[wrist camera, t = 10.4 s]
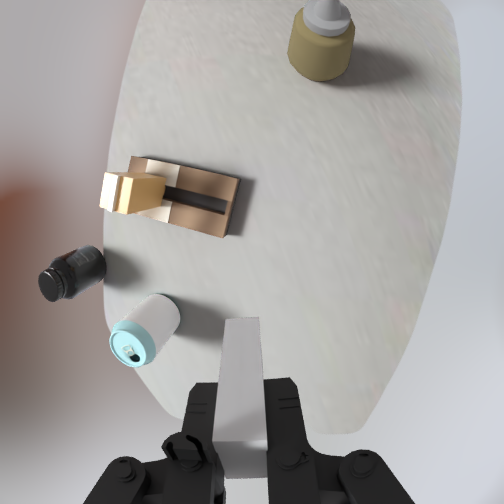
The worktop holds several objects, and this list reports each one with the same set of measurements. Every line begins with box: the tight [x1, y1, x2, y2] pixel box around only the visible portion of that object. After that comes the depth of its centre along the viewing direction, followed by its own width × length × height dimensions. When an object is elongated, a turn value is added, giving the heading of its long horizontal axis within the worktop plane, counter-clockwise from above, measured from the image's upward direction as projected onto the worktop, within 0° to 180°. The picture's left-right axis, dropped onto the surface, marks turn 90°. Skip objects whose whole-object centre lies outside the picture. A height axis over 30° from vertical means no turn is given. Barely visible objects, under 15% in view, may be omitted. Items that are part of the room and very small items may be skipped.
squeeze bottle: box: [287, 0, 355, 82], centre depth 24 cm, size 8×8×18 cm
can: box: [110, 294, 180, 367], centre depth 39 cm, size 7×7×12 cm
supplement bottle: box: [38, 245, 106, 302], centre depth 39 cm, size 7×7×12 cm
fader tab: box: [100, 172, 167, 215], centre depth 33 cm, size 4×4×11 cm
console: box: [128, 156, 241, 238], centre depth 38 cm, size 16×8×3 cm, turn 75°
